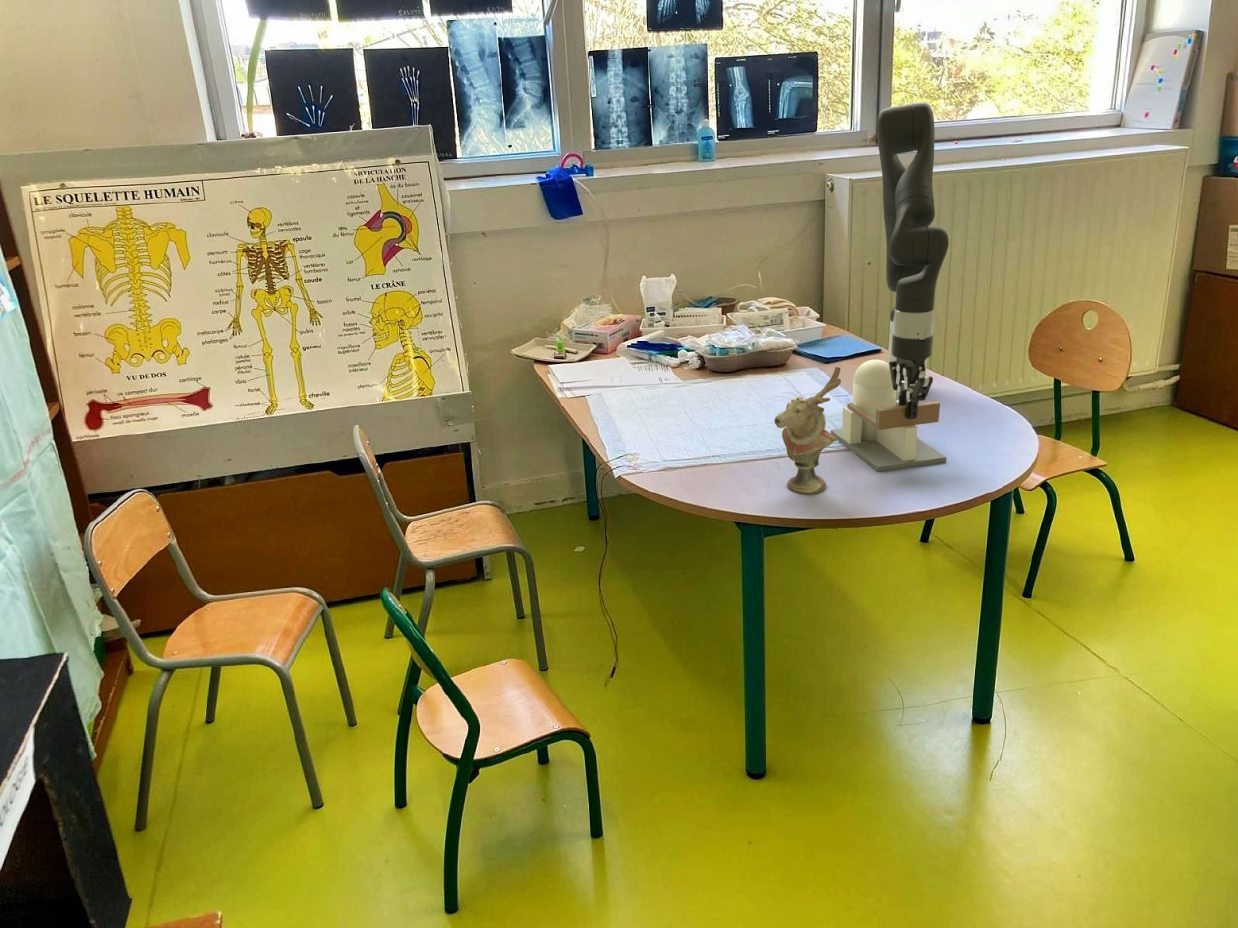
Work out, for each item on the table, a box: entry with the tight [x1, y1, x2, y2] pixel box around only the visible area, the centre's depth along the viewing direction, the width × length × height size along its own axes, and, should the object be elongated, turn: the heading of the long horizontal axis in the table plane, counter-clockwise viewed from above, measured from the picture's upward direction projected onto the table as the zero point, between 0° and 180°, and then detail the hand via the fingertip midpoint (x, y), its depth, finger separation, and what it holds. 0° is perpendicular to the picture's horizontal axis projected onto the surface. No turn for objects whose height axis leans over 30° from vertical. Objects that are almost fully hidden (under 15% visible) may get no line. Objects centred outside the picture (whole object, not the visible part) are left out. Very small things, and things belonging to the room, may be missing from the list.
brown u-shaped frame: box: [846, 400, 941, 430], centre depth 191 cm, size 14×13×4 cm
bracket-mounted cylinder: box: [830, 359, 947, 472], centre depth 194 cm, size 22×15×18 cm, turn 12°
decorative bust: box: [774, 366, 842, 495], centre depth 175 cm, size 11×13×25 cm
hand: (907, 415), depth 186 cm, fingers open, 2 cm apart
